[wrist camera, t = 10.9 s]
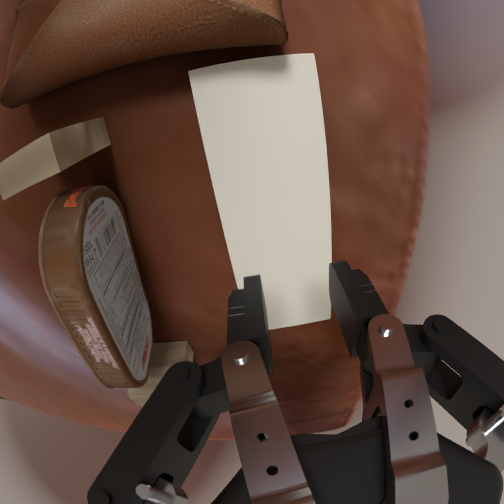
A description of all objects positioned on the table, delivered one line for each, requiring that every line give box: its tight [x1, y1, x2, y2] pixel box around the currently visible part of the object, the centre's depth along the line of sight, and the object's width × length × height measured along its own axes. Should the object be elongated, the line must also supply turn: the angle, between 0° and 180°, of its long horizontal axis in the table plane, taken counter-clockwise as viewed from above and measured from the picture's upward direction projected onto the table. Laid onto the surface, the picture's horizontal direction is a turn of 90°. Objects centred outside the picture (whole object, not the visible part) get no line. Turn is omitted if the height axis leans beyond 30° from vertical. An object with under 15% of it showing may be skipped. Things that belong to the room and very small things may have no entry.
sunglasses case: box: [0, 0, 288, 108], centre depth 9 cm, size 18×7×7 cm
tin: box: [38, 185, 153, 388], centre depth 16 cm, size 15×3×8 cm, turn 0°
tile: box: [188, 53, 332, 330], centre depth 18 cm, size 20×7×1 cm, turn 9°
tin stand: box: [0, 116, 194, 406], centre depth 17 cm, size 22×5×6 cm, turn 9°
